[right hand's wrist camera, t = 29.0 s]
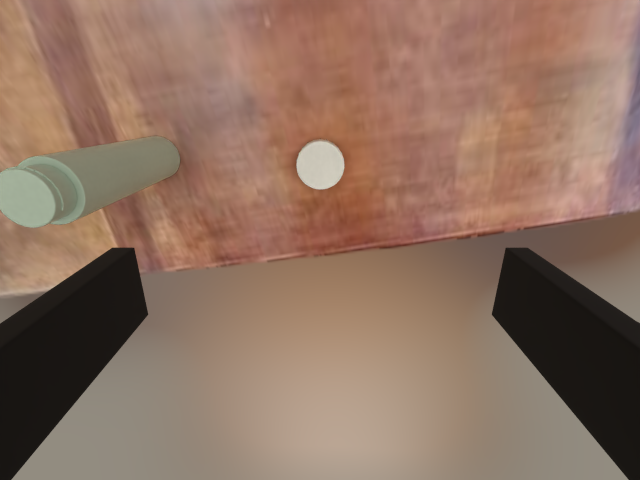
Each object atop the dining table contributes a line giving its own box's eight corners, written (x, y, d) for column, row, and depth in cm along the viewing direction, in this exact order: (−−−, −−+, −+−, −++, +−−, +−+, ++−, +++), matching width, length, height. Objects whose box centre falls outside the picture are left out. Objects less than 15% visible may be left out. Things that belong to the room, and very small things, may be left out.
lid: (306, 191, 42) (306, 196, 40) (290, 148, 40) (288, 150, 38) (349, 176, 41) (351, 180, 39) (334, 131, 39) (335, 133, 37)
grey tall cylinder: (171, 131, 39) (40, 153, 21) (185, 173, 41) (76, 227, 23) (131, 140, 40) (-33, 169, 21) (147, 181, 41) (9, 241, 23)
